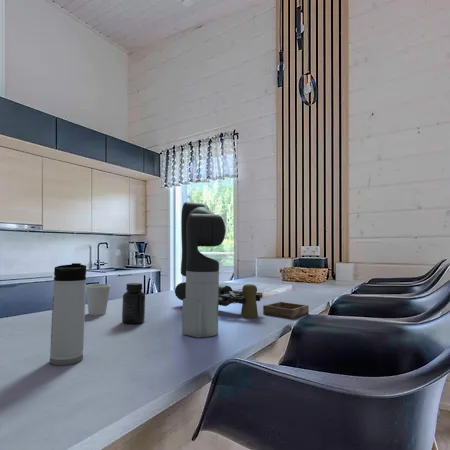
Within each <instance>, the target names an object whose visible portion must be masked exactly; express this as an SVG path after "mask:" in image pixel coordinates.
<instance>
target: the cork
mask: <svg viewBox="0 0 450 450" xmlns="http://www.w3.org/2000/svg"><path fill="white" fill-rule="evenodd" d="M241 291H243V293H244V296H243V297H245V298H246V304H242V306H241V313H240V317H241V318H243V319H257V318H258V317H259V314H258V304H257V301H256V295H255V294H258V287H257V285H255V284H252V283H251V284H249V283H248V284H244V285H243V286H242V288H241Z"/></svg>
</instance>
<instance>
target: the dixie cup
mask: <svg viewBox="0 0 450 450" xmlns="http://www.w3.org/2000/svg"><path fill="white" fill-rule="evenodd" d="M110 291H111V284H110V283H91V284H90V283H89V284H86V300H87V301H86V302H87V311H88V312H87V313H88V316H102V315H106V314H107V308H108V301H109V295H110Z"/></svg>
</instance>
